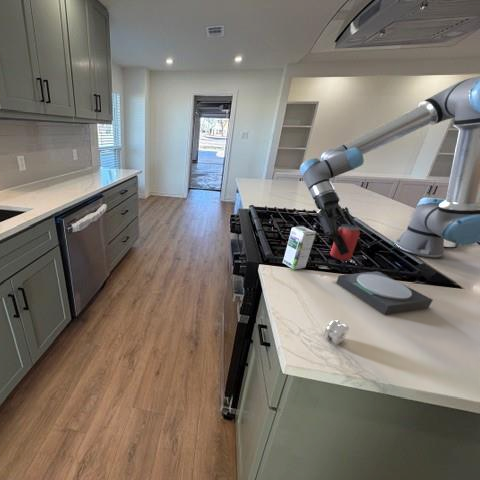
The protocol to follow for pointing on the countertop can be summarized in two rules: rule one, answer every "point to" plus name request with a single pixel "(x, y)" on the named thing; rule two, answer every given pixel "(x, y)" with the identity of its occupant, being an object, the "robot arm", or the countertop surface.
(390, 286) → the kitchen scale
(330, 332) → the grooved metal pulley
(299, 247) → the syrup box
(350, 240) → the beer can
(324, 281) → the countertop surface
